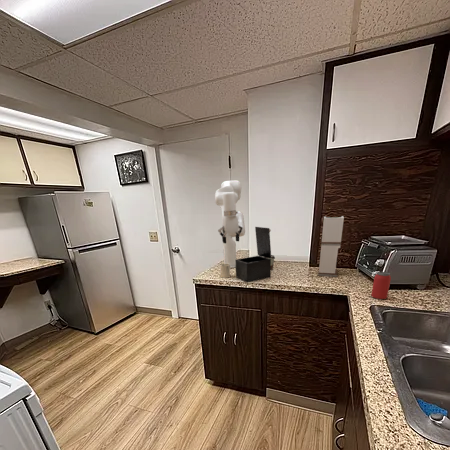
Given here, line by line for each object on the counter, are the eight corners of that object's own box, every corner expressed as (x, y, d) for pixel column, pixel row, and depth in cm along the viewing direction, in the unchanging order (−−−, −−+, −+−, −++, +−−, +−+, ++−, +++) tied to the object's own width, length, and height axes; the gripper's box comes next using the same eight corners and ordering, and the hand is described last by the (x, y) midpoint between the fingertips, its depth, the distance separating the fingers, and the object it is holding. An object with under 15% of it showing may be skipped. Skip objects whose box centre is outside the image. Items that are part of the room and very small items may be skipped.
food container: (274, 267, 180) (274, 254, 177) (274, 270, 175) (275, 256, 171) (257, 268, 182) (257, 254, 178) (257, 270, 176) (257, 256, 172)
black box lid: (268, 228, 147) (274, 226, 149) (255, 226, 158) (261, 225, 160) (270, 258, 155) (276, 256, 156) (257, 255, 166) (263, 253, 168)
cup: (219, 276, 168) (218, 264, 165) (227, 274, 170) (226, 263, 167) (223, 278, 163) (223, 266, 160) (231, 276, 165) (231, 265, 162)
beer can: (386, 300, 116) (391, 276, 111) (370, 298, 119) (374, 274, 114) (386, 296, 121) (391, 272, 116) (371, 294, 124) (375, 270, 120)
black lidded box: (247, 282, 152) (246, 263, 148) (236, 277, 163) (235, 259, 159) (270, 277, 159) (270, 259, 155) (258, 272, 171) (258, 255, 166)
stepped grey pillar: (336, 276, 153) (343, 217, 140) (318, 275, 157) (323, 218, 144) (336, 271, 163) (343, 216, 150) (319, 270, 167) (324, 216, 154)
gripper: (238, 212, 159) (239, 240, 165) (214, 214, 151) (216, 243, 157) (244, 213, 152) (245, 241, 159) (220, 215, 145) (222, 244, 151)
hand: (231, 242), depth 158 cm, fingers open, 9 cm apart
